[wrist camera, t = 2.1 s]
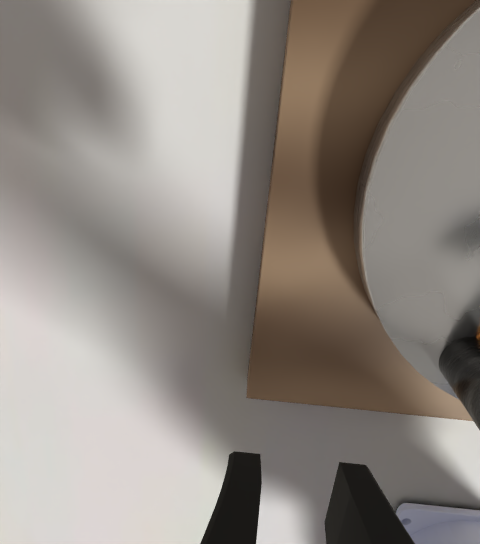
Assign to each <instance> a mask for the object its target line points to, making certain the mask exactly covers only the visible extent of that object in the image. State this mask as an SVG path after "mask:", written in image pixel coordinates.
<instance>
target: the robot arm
mask: <svg viewBox="0 0 480 544" xmlns="http://www.w3.org/2000/svg"><path fill="white" fill-rule="evenodd" d="M261 484H262V482H261V460H260V454H254V453H244V452H235V451H234V452H233V453H231V454H230V455H229V460H228V466H227V470H226V475H225V478H224V482H223V485H222V489H221V492H220V494H219V497H218V500H217V503H216V506H215V509H214V511H213V514H212V516H211V519H210V521H209V524H208V526H207V529H206V531H205V534H204V536H203V539H202V541H201V543H200V544H256V537H257V526H258V516H259V505H260V494H261ZM325 532H326V544H480V510H471V509H462V508H452V507H442V506H433V505H423V504H414V503H403V504H401V505H400V506H399V507H398V508H397V511H396V513H395V512H394V510H393V508H392V507H391V505H390V503H389V502H388V500H387V499H386V497H385V495H384V494H383V492H382V490H381V489H380V487H379V485H378V484H377V482H376V480H375V479H374V477H373V475H372V473H371V472H370V470H369V469H368V467H367V466H366V465H360V464H351V463H341V462H339V466H338V470H337V474H336V478H335V483H334V487H333V491H332V495H331V499H330V503H329V507H328V511H327V515H326V519H325Z"/></svg>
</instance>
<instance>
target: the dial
mask: <svg viewBox="0 0 480 544" xmlns="http://www.w3.org/2000/svg"><path fill="white" fill-rule="evenodd" d="M354 245H355V252H356V259H357V266H358V270H359V273H360V276H361V280H362V283H363V286H364V289H365V292H366V294H367V296H368V298H369V300H370V302H371V304H372V307H373V309H374V311H375V313H376V314H377V316H378V318H379V320H380V322H381V324H382V325H383V327H384V329H385V331H386V333H387V334H388V336H389V337H390V339H391V340H392V342H393V343H394V345H395V346H396V348H397V349H398V350H399V352H400V353H401V355H402V356H403V357H404V358H405V359H406V360H407V361H408V362H409V363H410V364H411V365H412V366H413V367H414V368H415V370H416V371H417V372H419V373H420V374H421V375H422V376H424V377H425V378H426V379H427V380H429V381H430V382H431V383H432V384H434V385H435V386H436V387H438V388H440V389H441V390H443V391H445V392H446V393H448V394H450V395H452V396H453V397H455V398H457V399H459V400H460V401H461V403H462V404H463V406H464V407H465V409H466V410H467V412H468V413H469V415H470V416H471V418H472V419H473V421H474V422H475V424H476V425H477V427H478V428H479V430H480V0H476V1H475V2H474V3H472V4H471V5H470V6H469V7H468V8H467V9H466V10H465V11H464V12H463V13H462V14H461V15H459V16H458V17H457V18H456V19H455V20H454V21H453V22H452V23H451V24H450V25H449V26H447V27H446V28H445V29H444V30H443V31H442V32H441V34H440V35H439V36H438V37H437V38H436V39H435V40H434V42H433V43H432V44H431V45H430V46H429V47H428V48H427V50H426V51H425V52H424V53H423V54H422V55H421V56H420V58H419V59H418V60H417V61H416V63H415V64H414V65H413V67H412V68H411V70H410V71H409V73H408V74H407V75H406V77H405V78H404V80H403V81H402V83H401V84H400V86H399V87H398V88H397V90H396V91H395V93H394V95H393V97H392V99H391V100H390V102H389V104H388V106H387V108H386V110H385V111H384V113H383V115H382V117H381V119H380V121H379V123H378V125H377V127H376V130H375V132H374V135H373V137H372V140H371V142H370V145H369V147H368V150H367V152H366V155H365V159H364V163H363V166H362V170H361V174H360V178H359V181H358V186H357V193H356V201H355V208H354Z"/></svg>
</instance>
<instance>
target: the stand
mask: <svg viewBox="0 0 480 544" xmlns="http://www.w3.org/2000/svg"><path fill="white" fill-rule="evenodd" d="M475 1H476V0H291V4H290V13H289V21H288V30H287V39H286V47H285V56H284V65H283V73H282V82H281V91H280V99H279V108H278V117H277V125H276V134H275V143H274V151H273V160H272V169H271V178H270V186H269V195H268V204H267V212H266V221H265V230H264V238H263V247H262V256H261V264H260V273H259V282H258V290H257V299H256V308H255V316H254V325H253V334H252V343H251V351H250V360H249V369H248V377H247V398H252V399H262V400H272V401H282V402H292V403H301V404H311V405H321V406H331V407H341V408H350V409H360V410H370V411H380V412H389V413H399V414H409V415H419V416H429V417H438V418H448V419H458V420H468V421H473V419H472V418H471V416H470V415H469V413H468V412H467V410H466V409H465V407H464V406H463V404H462V403H461V401H460V400H459V399H457V398H455V397H453V396H452V395H450V394H448V393H446V392H445V391H443V390H441V389H440V388H438V387H436V386H435V385H434V384H432V383H431V382H430V381H429V380H427V379H426V378H425V377H424V376H422V375H421V374H420V373H419V372H417V371H416V370H415V368H414V367H413V366H412V365H411V364H410V363H409V362H408V361H407V360H406V359H405V358H404V357H403V356H402V355H401V353H400V352H399V350H398V349H397V348H396V346H395V345H394V343H393V342H392V340H391V339H390V337H389V336H388V334H387V333H386V331H385V329H384V327H383V325H382V324H381V322H380V320H379V318H378V316H377V314H376V313H375V311H374V309H373V307H372V304H371V302H370V300H369V298H368V296H367V294H366V292H365V289H364V286H363V283H362V280H361V276H360V273H359V270H358V266H357V259H356V252H355V245H354V208H355V201H356V193H357V186H358V181H359V178H360V174H361V170H362V166H363V163H364V159H365V155H366V152H367V150H368V147H369V145H370V142H371V140H372V137H373V135H374V132H375V130H376V127H377V125H378V123H379V121H380V119H381V117H382V115H383V113H384V111H385V110H386V108H387V106H388V104H389V102H390V100H391V99H392V97H393V95H394V93H395V91H396V90H397V88H398V87H399V86H400V84H401V83H402V81H403V80H404V78H405V77H406V75H407V74H408V73H409V71H410V70H411V68H412V67H413V65H414V64H415V63H416V61H417V60H418V59H419V58H420V56H421V55H422V54H423V53H424V52H425V51H426V50H427V48H428V47H429V46H430V45H431V44H432V43H433V42H434V40H435V39H436V38H437V37H438V36H439V35H440V34H441V32H442V31H443V30H444V29H445V28H446V27H447V26H449V25H450V24H451V23H452V22H453V21H454V20H455V19H456V18H457V17H458V16H459V15H461V14H462V13H463V12H464V11H465V10H466V9H467V8H468V7H469V6H470V5H471V4H472V3H474V2H475Z"/></svg>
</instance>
